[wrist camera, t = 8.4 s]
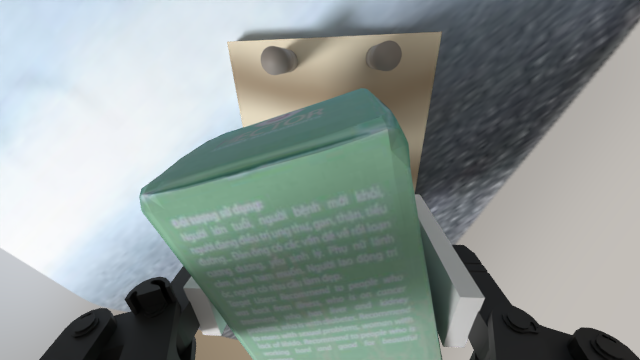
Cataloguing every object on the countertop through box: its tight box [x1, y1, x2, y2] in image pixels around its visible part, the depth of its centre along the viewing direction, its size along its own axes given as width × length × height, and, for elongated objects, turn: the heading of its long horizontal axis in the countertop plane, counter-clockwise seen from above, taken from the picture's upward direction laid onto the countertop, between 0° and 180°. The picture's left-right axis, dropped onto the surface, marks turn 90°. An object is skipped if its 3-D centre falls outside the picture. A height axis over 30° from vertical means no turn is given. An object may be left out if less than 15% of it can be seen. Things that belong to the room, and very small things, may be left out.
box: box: [140, 88, 442, 360], centre depth 11 cm, size 7×14×8 cm, turn 18°
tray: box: [227, 32, 442, 194], centre depth 18 cm, size 19×14×5 cm
